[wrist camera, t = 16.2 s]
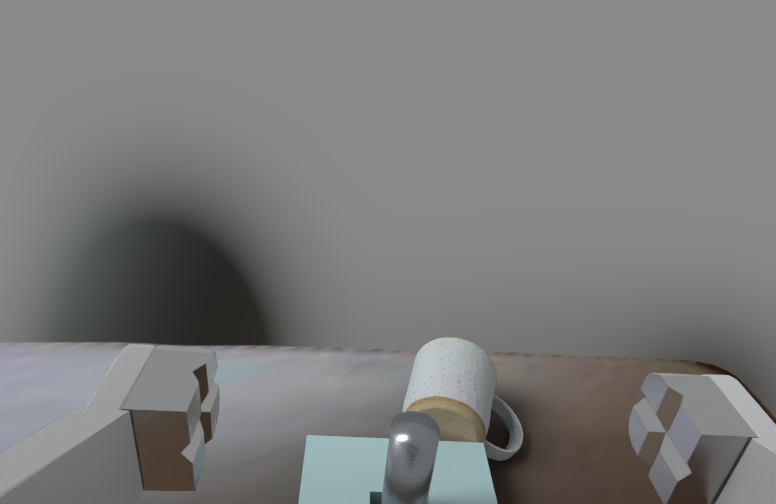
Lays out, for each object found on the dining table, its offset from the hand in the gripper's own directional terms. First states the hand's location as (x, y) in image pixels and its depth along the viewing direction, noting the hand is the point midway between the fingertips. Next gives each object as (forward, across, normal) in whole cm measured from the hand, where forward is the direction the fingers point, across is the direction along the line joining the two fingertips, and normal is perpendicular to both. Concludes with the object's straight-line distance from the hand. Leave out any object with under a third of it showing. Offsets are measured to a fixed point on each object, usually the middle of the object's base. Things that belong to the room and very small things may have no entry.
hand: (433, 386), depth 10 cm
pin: (+16, -3, +30) cm, 34 cm away
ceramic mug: (+28, -9, +30) cm, 42 cm away
